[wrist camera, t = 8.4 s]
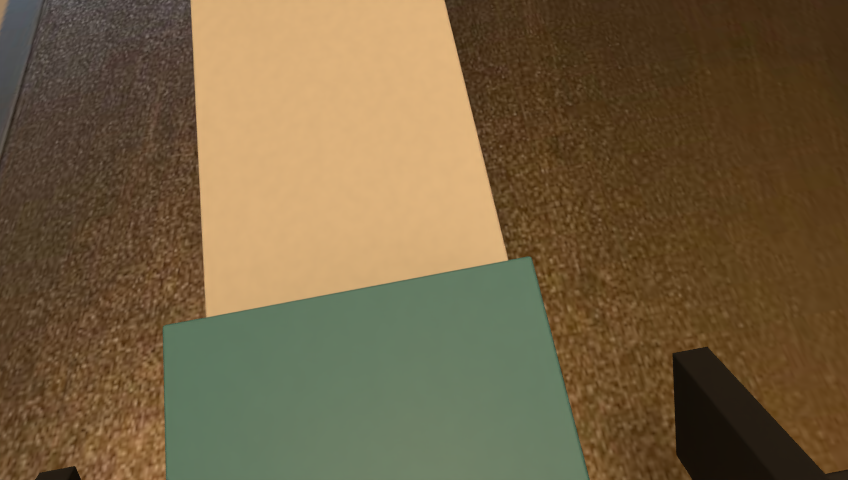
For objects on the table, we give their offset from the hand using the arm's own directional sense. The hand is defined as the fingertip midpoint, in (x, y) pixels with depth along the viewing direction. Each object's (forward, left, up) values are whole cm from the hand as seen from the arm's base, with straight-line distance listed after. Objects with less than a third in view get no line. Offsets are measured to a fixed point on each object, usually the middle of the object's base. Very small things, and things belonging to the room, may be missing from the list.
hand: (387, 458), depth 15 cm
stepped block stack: (-4, +7, -6) cm, 10 cm away
